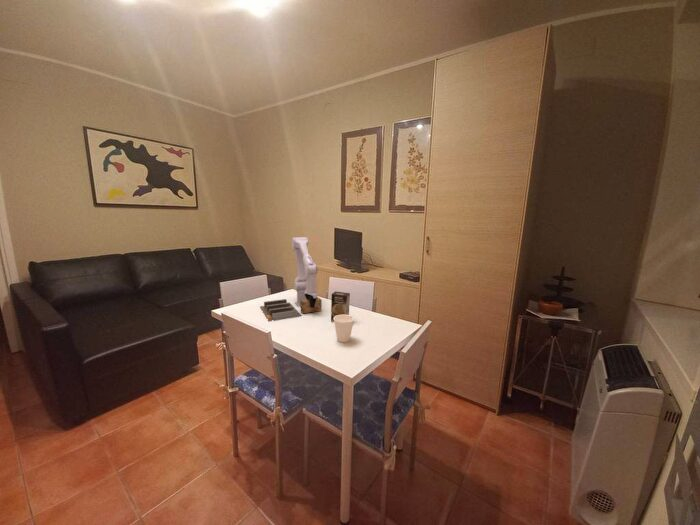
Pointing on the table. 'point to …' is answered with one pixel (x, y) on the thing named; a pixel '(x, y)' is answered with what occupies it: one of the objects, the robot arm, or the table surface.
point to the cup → (343, 327)
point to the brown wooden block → (306, 306)
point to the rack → (279, 310)
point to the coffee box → (339, 304)
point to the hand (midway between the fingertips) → (311, 306)
